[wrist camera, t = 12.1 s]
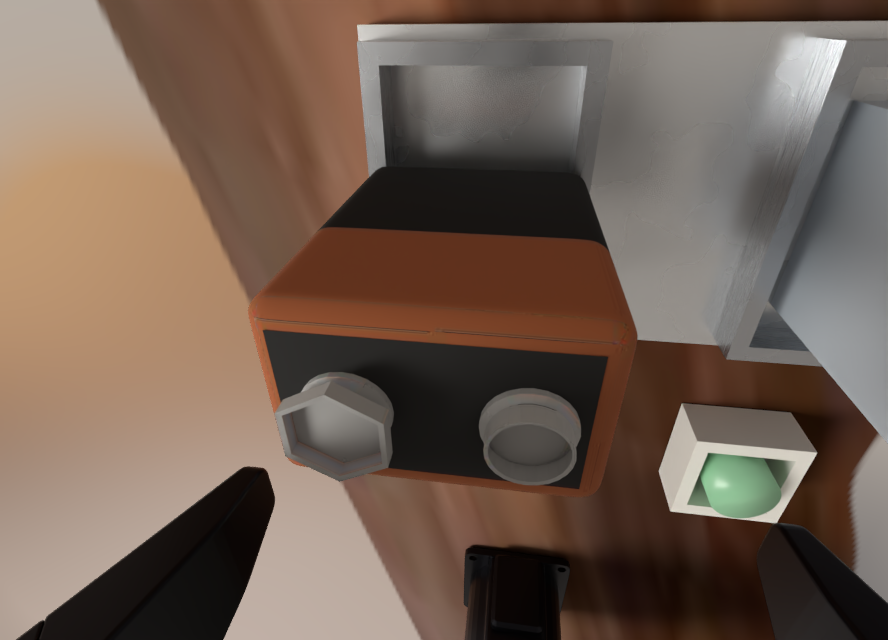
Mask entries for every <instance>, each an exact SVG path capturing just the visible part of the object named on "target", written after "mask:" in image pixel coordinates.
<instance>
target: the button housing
mask: <svg viewBox="0 0 888 640" xmlns="http://www.w3.org/2000/svg"><path fill="white" fill-rule="evenodd" d="M708 453H717V454H728V455H738V456H748V457H758V458H764V459H765V461H766V463H767V465H768V467H769V469H770V471H771V473H772V474H773V476H774V478H775V480H776V482H777V484H778V486H779V487H780V490H781V499H780V502H779V503H778V504H777V505H776V507H774V508H773V509H772V510H770V511H769V512H767V513H765V514H762V515H759V516H756V517H750V518H734V519H743V520H752V521H761V522H770V523H777V521H778V520H779V518H780V516H781V514H782V513H783V511H784V509H785V508H786V506H787V504H788V502H789V501H790V499H791V497H792V496H793V494H794V492H795V490H796V489H797V487H798V485H799V484H800V482H801V480H802V478H803V477H804V475H805V473H806V472H807V470H808V468H809V466H810V465H811V463H812V461H813V460H814V458H815V456H816V454H817V451H816V450H815V448H814V447H813V445H812V444H811V442H810V441H809V439H808V438H807V436H806V435H805V433H804V432H803V430H802V429H801V427H800V426H799V424H798V423H797V421H796V420H795V418H794V417H793V415H792V414H791V412H779V411H767V410H756V409H744V408H733V407H721V406H709V405H698V404H686V403H682V405H681V408H680V410H679V413H678V416H677V419H676V422H675V425H674V428H673V431H672V434H671V437H670V440H669V443H668V446H667V449H666V452H665V455H664V458H663V460H662V463H661V466H660V469H659V474H660V477H661V481H662V484H663V488H664V491H665V494H666V498H667V501H668V505H669V508H670V511H672V512H681V513H690V514H699V515H708V516H717V517H725V518H732V517H727V516H724V515H722V514H719V513H718V512H716V511H715V510H714V509H713V508H712V507H711V505H710V502H709V500H708V497H707V494H706V492H705V489H704V486H703V484H702V481H701V478H700V476H699V474H700V471H701V469H702V466H703V464H704V462H705V459H706V457H707V454H708Z"/></svg>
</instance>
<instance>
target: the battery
mask: <svg viewBox="0 0 888 640" xmlns="http://www.w3.org/2000/svg"><path fill="white" fill-rule="evenodd" d="M248 314H249V319H250V323H251V327H252V331H253V335H254V339H255V342H256V347H257V350H258V354H259V358H260V362H261V366H262V369H263V373H264V377H265V381H266V384H267V388H268V392H269V396H270V400H271V404H272V407H273V411H274V415H275V419H276V422H277V426H278V430H279V434H280V438H281V441H282V445H283V449H284V452H285V456H286V457H287V458H288V459H289V460H290V461H291V462H292V463H294V464H296V465H299V466H304V467H305V466H306V467H310V468H312V469H314V470H316V471H318V472H320V473H322V474H325V475H327V476H329V477H331V478H333V479H335V480H338V481H343V480H347V479H350V478H354V477H357V476H361V475H364V474H372V475H381V476H390V477H398V478H407V479H416V480H425V481H434V482H442V483H451V484H460V485H469V486H478V487H486V488H495V489H504V490H513V491H522V492H530V493H539V494H548V495H558V496H568V497H586V496H590V495H592V494H593V493H595V492H596V491H597V490H598V488H599V487H600V485H601V482H602V479H603V475H604V472H605V468H606V464H607V460H608V456H609V452H610V448H611V444H612V440H613V436H614V433H615V429H616V425H617V421H618V417H619V413H620V409H621V405H622V401H623V397H624V393H625V389H626V385H627V381H628V378H629V374H630V370H631V366H632V362H633V358H634V354H635V350H636V345H637V339H638V335H637V330H636V327H635V323H634V321H633V318H632V315H631V312H630V309H629V306H628V303H627V300H626V298H625V295H624V292H623V289H622V286H621V283H620V280H619V278H618V275H617V272H616V269H615V266H614V263H613V260H612V257H611V255H610V252H609V249H608V246H607V243H606V240H605V237H604V235H603V232H602V229H601V226H600V223H599V220H598V217H597V214H596V212H595V209H594V206H593V203H592V200H591V197H590V194H589V192H588V189H587V186H586V184H585V182H584V180H583V179H582V178H581V177H580V176H579V175H577V174H574V173H569V172H551V171H521V170H490V169H459V168H428V167H396V166H386V167H381V168H379V169H377V170H376V171H375V172H374V173H373V174H372V175H371V176H370V177H369V178H368V179H367V180H366V181H365V182H364V183H363V184H362V185H361V186H360V187H359V188H358V189H357V190H356V192H355V193H354V194H353V195H352V196H351V197H350V198H349V199H348V200H347V201H346V202H345V203H344V204H343V205H342V206H341V207H340V208H339V209H338V210H337V211H336V212H335V214H334V215H333V216H332V217H331V218H330V219H329V220H328V221H327V222H326V223H325V224H324V225H323V226H322V227H321V228H320V229H319V230H318V231H317V232H316V233H315V234H314V236H313V237H312V238H311V239H310V240H309V241H308V242H307V243H306V244H305V245H304V246H303V247H302V248H301V249H300V250H299V251H298V252H297V253H296V254H295V255H294V256H293V258H292V259H291V260H290V261H289V262H288V263H287V264H286V265H285V266H284V267H283V268H282V269H281V270H280V271H279V272H278V273H277V274H276V275H275V276H274V277H273V278H272V280H271V281H270V282H269V283H268V284H267V285H266V286H265V287H264V288H263V289H262V290H261V291H260V292H259V293H258V294H257V295H256V296H255V298H254V299H253V300H252V302H251V303H250V305H249V308H248Z"/></svg>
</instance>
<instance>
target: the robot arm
mask: <svg viewBox="0 0 888 640" xmlns="http://www.w3.org/2000/svg"><path fill="white" fill-rule="evenodd" d="M274 504H275V496H274V492H273V489H272V485H271V482H270V479H269V475H268V473H267V471H266V470H265V469H264V468H258V467H243V468H241V469H240V470H238V471H237V472H236V473H234V474H233V475H232V476H230V477H229V478H228V479H226V480H225V481H224V482H223V483H221V484H220V485H219V486H217V487H216V488H215V489H213V490H212V491H211V492H210V493H208V494H207V495H205V496H204V497H203V498H202V499H200V500H199V501H198V502H196V503H195V504H194V505H192V506H191V507H190V508H188V509H187V510H186V511H185V512H183V513H182V514H180V515H179V516H178V517H177V518H175V519H174V520H173V521H171V522H170V523H169V524H167V525H166V526H165V527H164V528H162V529H161V530H159V531H158V532H157V533H156V534H154V535H153V536H152V537H150V538H149V539H148V540H146V541H145V542H144V543H143V544H141V545H140V546H139V547H137V548H136V549H135V550H133V551H132V552H131V553H130V554H128V555H127V556H125V557H124V558H123V559H121V560H120V561H119V562H117V563H116V564H115V565H114V566H112V567H111V568H110V569H108V570H107V571H106V572H105V573H103V574H102V575H100V576H99V577H98V578H97V579H95V580H94V581H93V582H91V583H90V584H89V585H87V586H86V587H85V588H84V589H82V590H81V591H79V592H78V593H77V594H76V595H74V596H73V597H72V598H70V599H69V600H68V601H66V602H65V603H64V604H62V605H61V606H60V607H59V608H57V609H56V610H54V611H53V612H52V613H51V614H49V615H48V616H47V617H46V619H45V621H44V620H42V621H40V622H38V623H37V624H36V625H35V626H33V627H32V628H31V629H29V630H28V631H27V632H25V633H24V634H23V635H21V636H20V637H19V638H17V639H16V640H223V639H224V637H225V635H226V632H227V630H228V628H229V626H230V623H231V621H232V619H233V617H234V615H235V613H236V610H237V608H238V606H239V604H240V602H241V599H242V597H243V594H244V592H245V590H246V587H247V584H248V582H249V579H250V576H251V574H252V571H253V568H254V565H255V562H256V559H257V556H258V553H259V550H260V547H261V544H262V541H263V538H264V535H265V532H266V529H267V526H268V523H269V520H270V517H271V514H272V512H273V508H274ZM757 566H758V570H759V574H760V578H761V582H762V586H763V591H764V595H765V599H766V603H767V607H768V611H769V615H770V619H771V623H772V627H773V631H774V635H775V639H776V640H888V603H887V602H886V601H885V600H884V599H883V598H882V597H880V596H879V595H878V594H877V593H876V592H875V591H874V590H873V589H872V588H871V587H869V586H868V585H867V584H866V583H865V582H864V581H863V580H862V579H861V578H860V577H859V576H857V575H856V574H855V573H854V572H853V571H852V570H851V569H850V568H849V567H848V566H846V565H845V564H844V563H843V562H842V561H841V560H840V559H839V558H838V557H837V556H836V555H834V554H833V553H832V552H831V551H830V550H829V549H828V548H827V547H826V546H825V545H823V544H822V543H821V542H820V541H819V540H818V539H817V538H816V537H815V536H814V535H813V534H811V533H810V532H809V531H808V530H807V529H805V528H804V527H802V526H799V525H793V524H784V523H775V524H773V525H772V526H771V527H770V529H769V531H768V533H767V535H766V536H765V538H764V540H763V542H762V544H761V546H760V548H759V549H758V552H757ZM569 573H570V564H569V562H568V561H567V560H564V559H558V558H550V557H543V556H535V555H527V554H519V553H511V552H504V551H496V550H488V549H480V548H468V549H466V552H465V574H464V605H465V606H466V607H468V611H467V621H466V631H465V640H561V629H560V612H561V608H562V603H563V599H564V595H565V590H566V586H567V582H568V578H569Z"/></svg>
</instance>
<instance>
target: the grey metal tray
mask: <svg viewBox="0 0 888 640" xmlns="http://www.w3.org/2000/svg"><path fill="white" fill-rule="evenodd" d="M357 28H358V39H359V42H357V49H358V60H359V71H360V82H361V93H362V104H363V115H364V126H365V137H366V148H367V159H368V170H369V177H370V176H371V175H372V174H373V173H374V172H375V171H376V170H377V169H379V168H381V167H386V166H396V167H428V168H459V169H490V170H521V171H551V172H569V173H574V174H577V175H579V176H580V177H581V178H582V179H583V180H584V182H585V184H586V186H587V189H588V192H589V194H590V197H591V200H592V203H593V206H594V209H595V212H596V214H597V217H598V220H599V223H600V226H601V229H602V232H603V235H604V237H605V240H606V243H607V246H608V249H609V252H610V255H611V257H612V260H613V263H614V266H615V269H616V272H617V275H618V278H619V280H620V283H621V286H622V289H623V292H624V295H625V298H626V300H627V303H628V306H629V309H630V312H631V315H632V318H633V321H634V323H635V327H636V330H637V335H638V339H637V340H650V341H664V342H678V343H692V344H706V345H718V346H719V348H720V350H721V351H722V353H723V355H724V357H725V358H726V359H730V360H743V361H756V362H770V363H783V364H797V365H810V366H822V365H821V364H820V362H819V361H818V360H817V359H816V358H815V356H814V355H813V354H812V353H811V352H810V350H809V349H808V348H807V347H806V346H805V344H804V343H803V342H802V341H801V340H800V339H799V337H798V336H797V335H796V334H795V333H794V331H793V330H792V329H791V328H790V327H789V325H788V324H787V323H786V322H785V321H784V319H783V318H782V317H781V316H780V315H779V314H778V312H777V311H776V310H775V309H774V308H773V306H772V305H771V302H772V300H773V298H774V295H775V293H776V290H777V288H778V285H779V283H780V281H781V278H782V276H783V273H784V271H785V268H786V266H787V263H788V261H789V259H790V256H791V254H792V251H793V249H794V246H795V244H796V242H797V239H798V237H799V234H800V232H801V229H802V227H803V225H804V222H805V220H806V217H807V215H808V212H809V210H810V208H811V205H812V203H813V200H814V198H815V195H816V193H817V190H818V188H819V186H820V183H821V181H822V178H823V176H824V173H825V171H826V169H827V166H828V164H829V161H830V159H831V156H832V154H833V152H834V149H835V147H836V144H837V142H838V139H839V137H840V135H841V132H842V130H843V127H844V125H845V122H846V120H847V117H848V115H849V113H850V110H851V108H852V105H853V103H854V100H857V101H888V20H854V21H718V22H581V23H444V24H361V25H357Z"/></svg>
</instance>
